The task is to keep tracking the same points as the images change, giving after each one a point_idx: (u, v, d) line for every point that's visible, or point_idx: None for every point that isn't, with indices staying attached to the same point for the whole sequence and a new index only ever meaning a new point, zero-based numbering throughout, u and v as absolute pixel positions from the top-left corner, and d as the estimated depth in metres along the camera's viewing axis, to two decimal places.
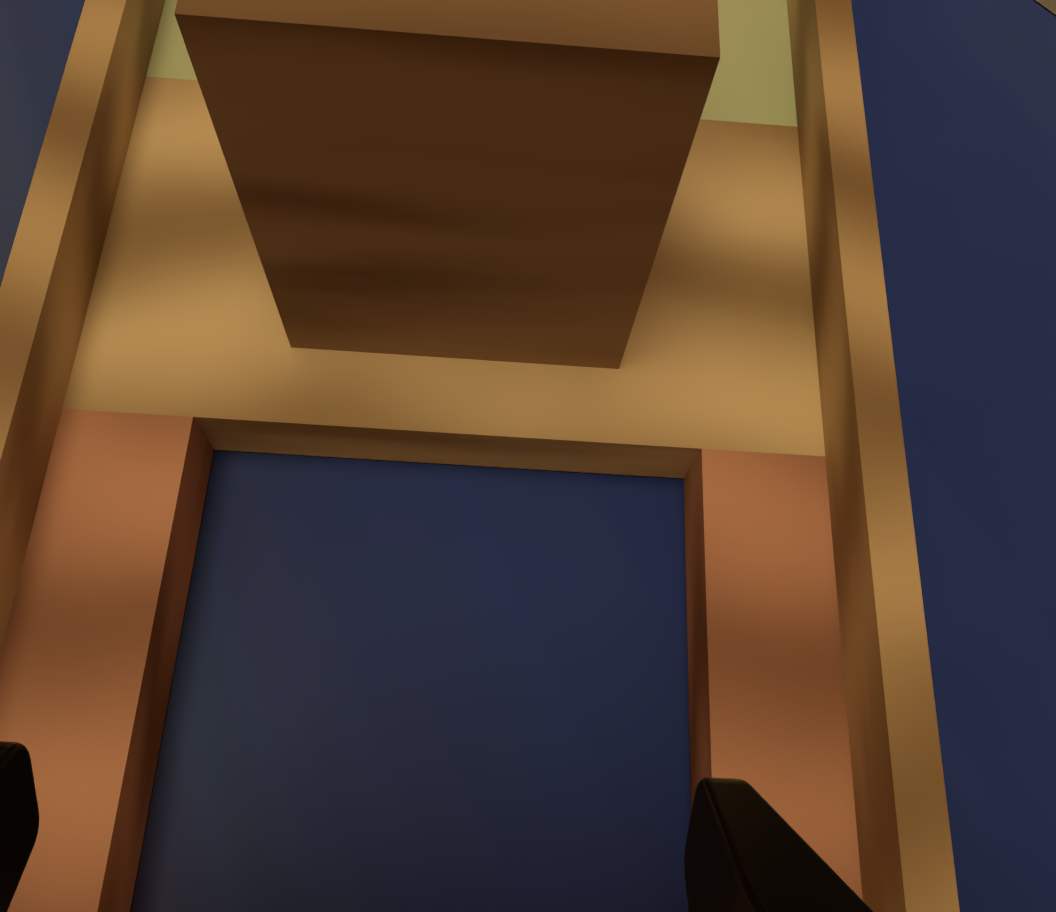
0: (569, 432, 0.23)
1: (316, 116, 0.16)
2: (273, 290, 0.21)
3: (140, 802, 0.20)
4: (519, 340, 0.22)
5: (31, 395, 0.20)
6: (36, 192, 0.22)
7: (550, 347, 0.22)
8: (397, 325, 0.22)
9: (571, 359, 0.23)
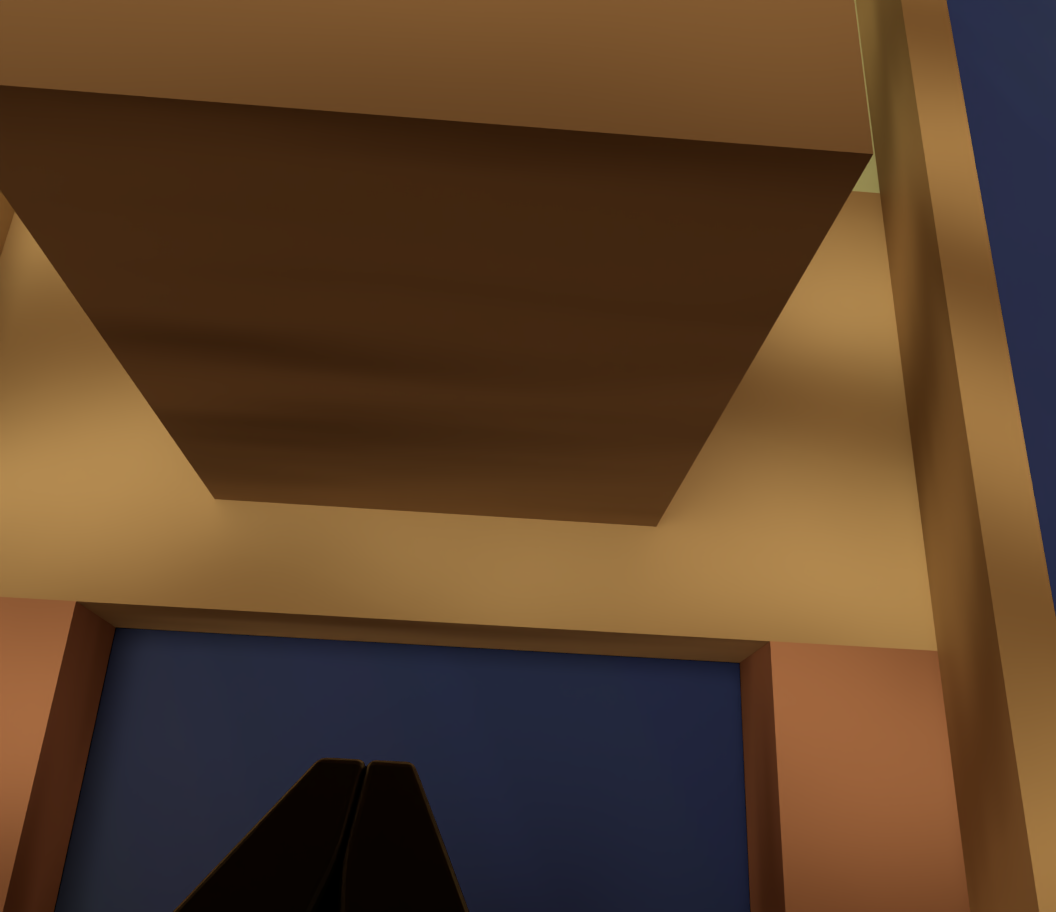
0: (591, 618, 0.17)
1: (198, 233, 0.10)
2: (178, 441, 0.15)
3: None
4: (523, 496, 0.16)
5: None
6: None
7: (565, 504, 0.16)
8: (356, 479, 0.16)
9: (593, 516, 0.17)
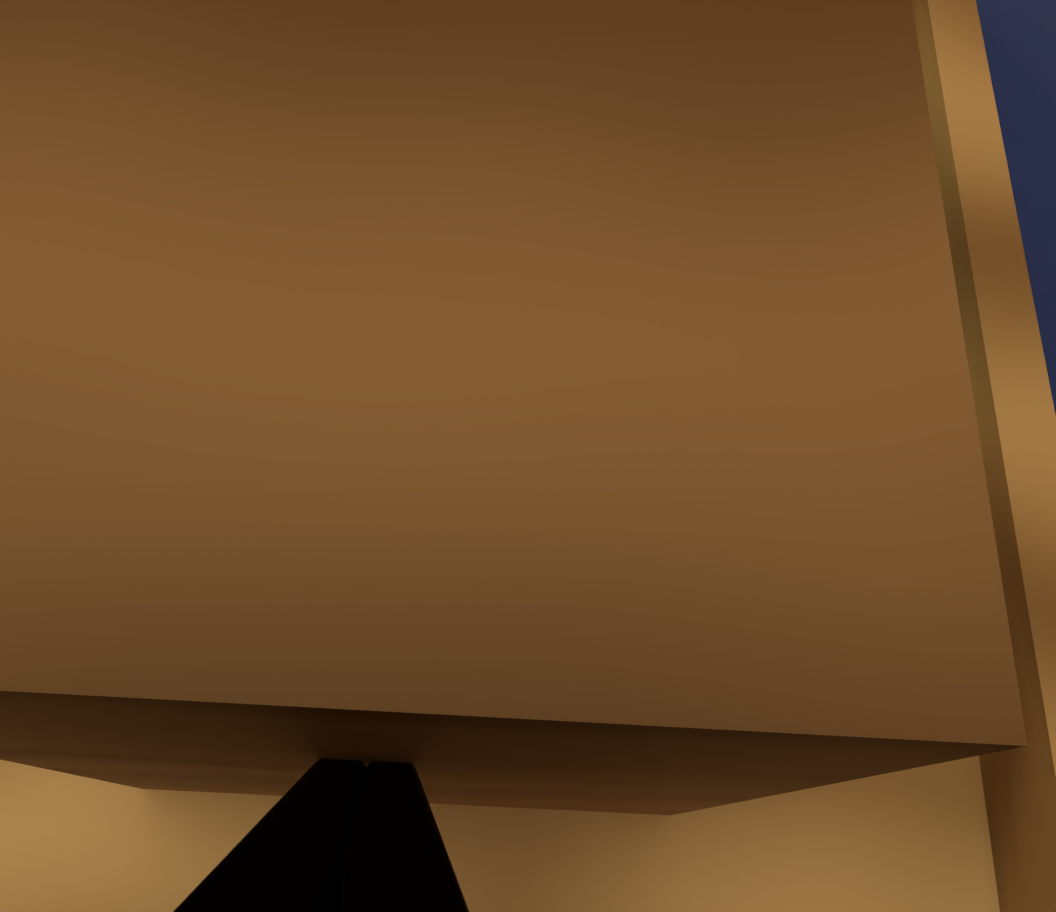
0: None
1: (38, 728, 0.07)
2: (82, 775, 0.12)
3: None
4: (510, 803, 0.13)
5: None
6: None
7: (561, 807, 0.14)
8: None
9: (595, 810, 0.14)
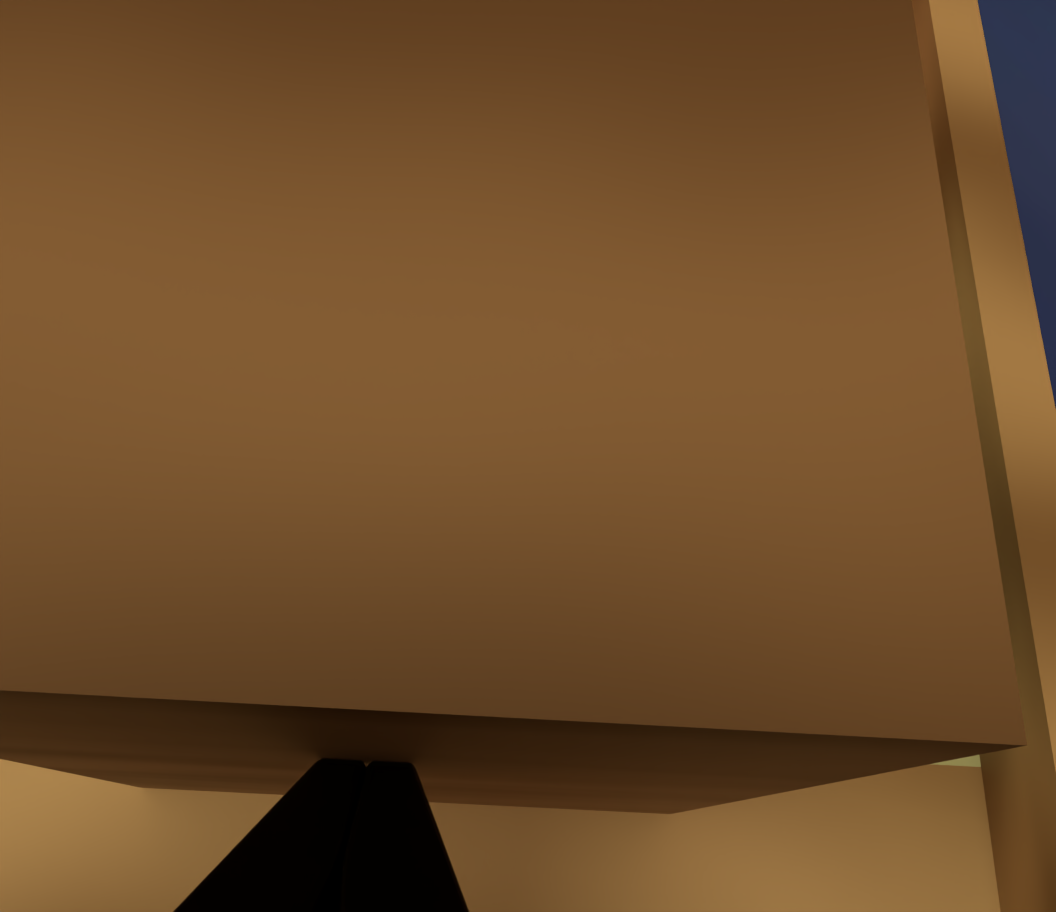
0: None
1: (36, 727, 0.07)
2: (81, 774, 0.12)
3: None
4: (510, 802, 0.13)
5: None
6: None
7: (561, 806, 0.14)
8: None
9: (594, 809, 0.14)
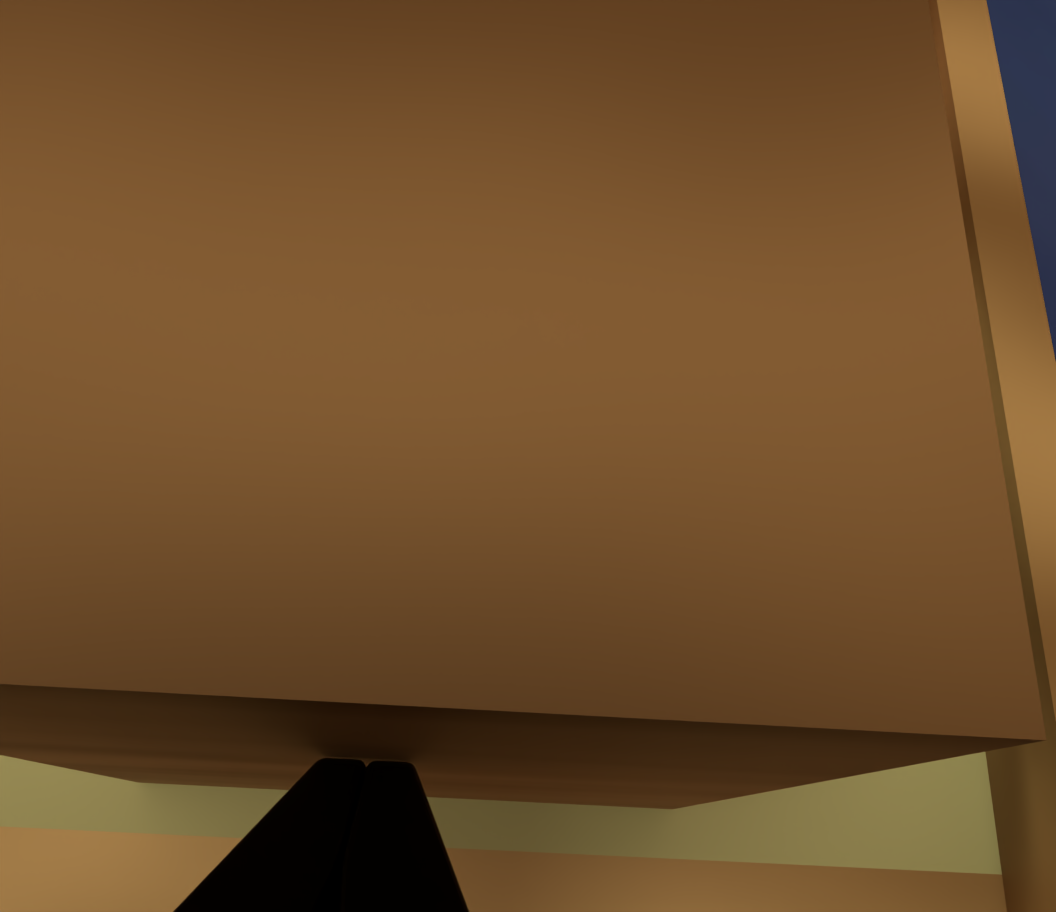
0: None
1: (25, 721, 0.07)
2: (76, 769, 0.12)
3: None
4: (510, 797, 0.13)
5: None
6: None
7: (562, 801, 0.14)
8: None
9: (596, 804, 0.14)
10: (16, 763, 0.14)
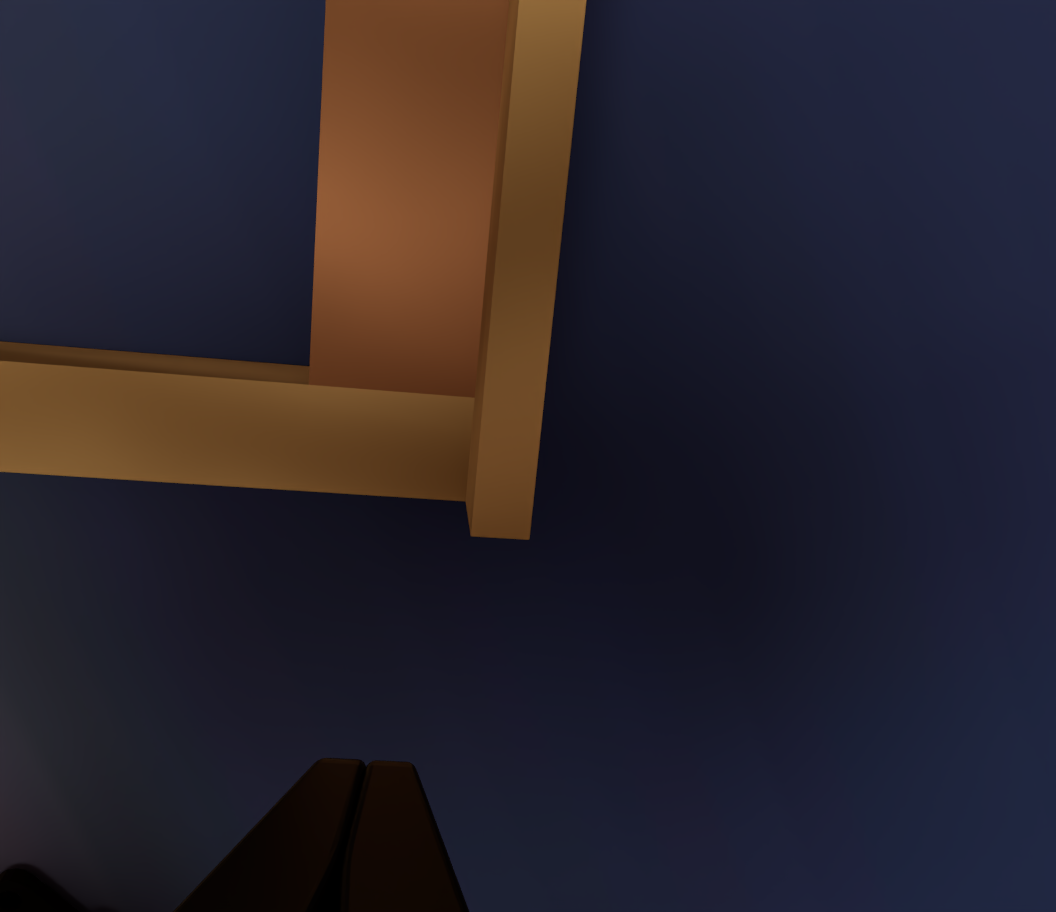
0: None
1: None
2: None
3: None
4: None
5: None
6: None
7: None
8: None
9: None
10: None
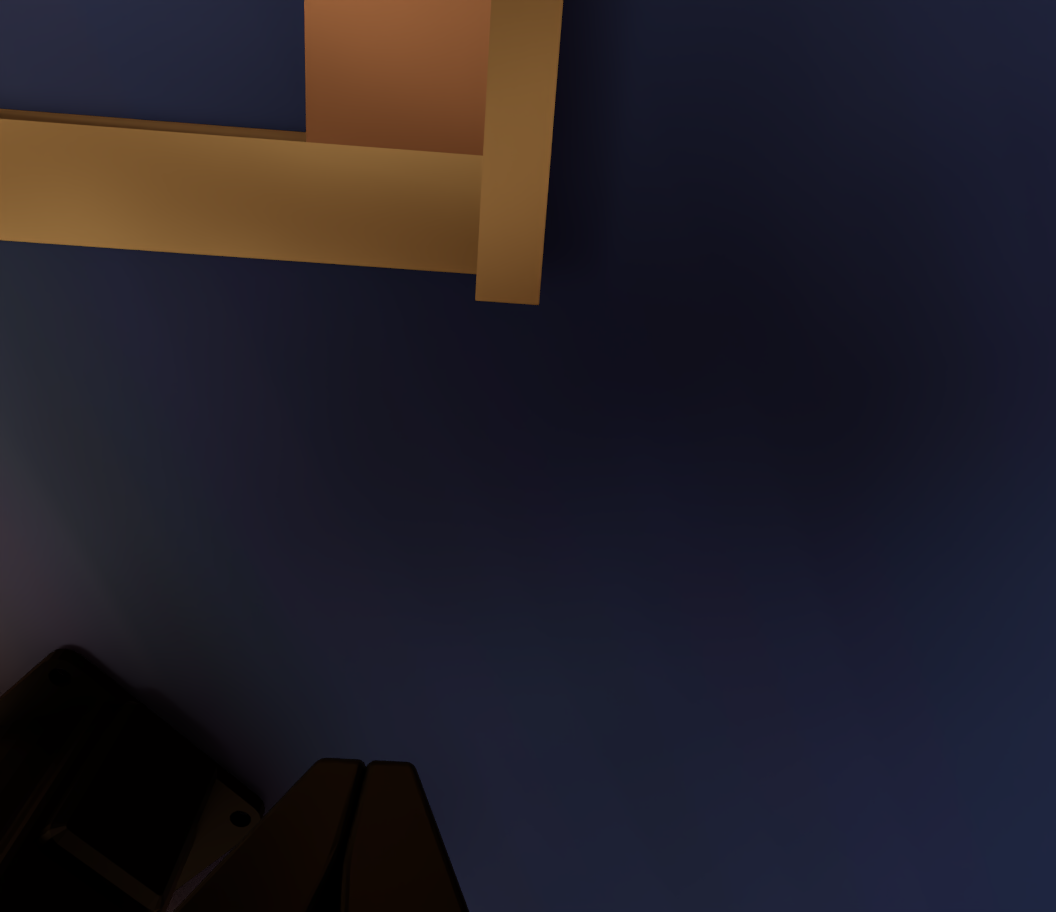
0: None
1: None
2: None
3: None
4: None
5: None
6: None
7: None
8: None
9: None
10: None
